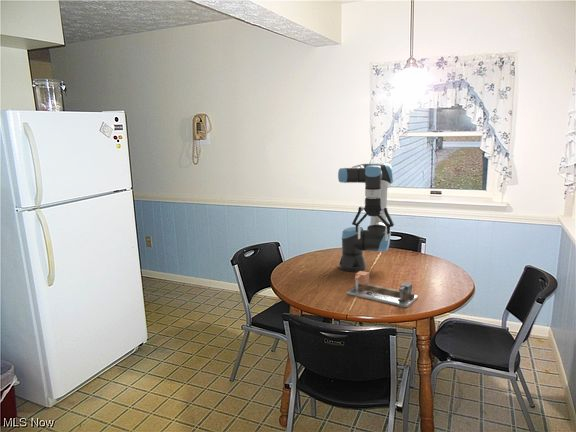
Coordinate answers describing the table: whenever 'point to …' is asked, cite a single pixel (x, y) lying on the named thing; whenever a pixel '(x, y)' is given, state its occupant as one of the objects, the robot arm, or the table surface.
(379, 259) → the table surface
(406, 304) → the bolt plate
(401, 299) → the rail and fixed leg
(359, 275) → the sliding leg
